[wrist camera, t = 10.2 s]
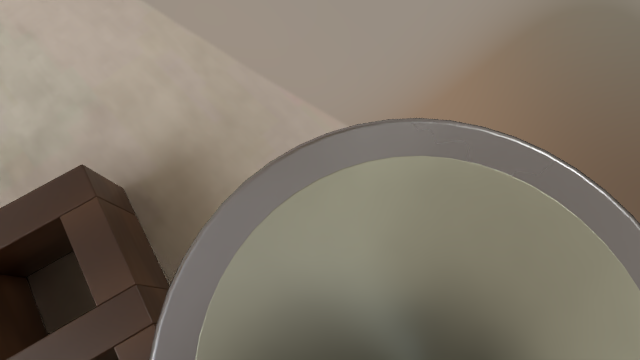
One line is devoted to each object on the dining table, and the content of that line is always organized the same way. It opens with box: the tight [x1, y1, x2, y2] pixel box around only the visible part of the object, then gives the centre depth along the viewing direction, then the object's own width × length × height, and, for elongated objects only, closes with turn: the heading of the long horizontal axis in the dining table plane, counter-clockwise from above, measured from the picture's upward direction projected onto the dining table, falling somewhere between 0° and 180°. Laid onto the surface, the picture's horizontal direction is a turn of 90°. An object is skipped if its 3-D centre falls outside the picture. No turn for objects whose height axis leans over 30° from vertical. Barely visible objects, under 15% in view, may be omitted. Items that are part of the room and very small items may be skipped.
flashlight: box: [149, 118, 640, 360], centre depth 9 cm, size 4×4×13 cm
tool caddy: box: [0, 165, 169, 360], centre depth 20 cm, size 14×8×4 cm, turn 30°
